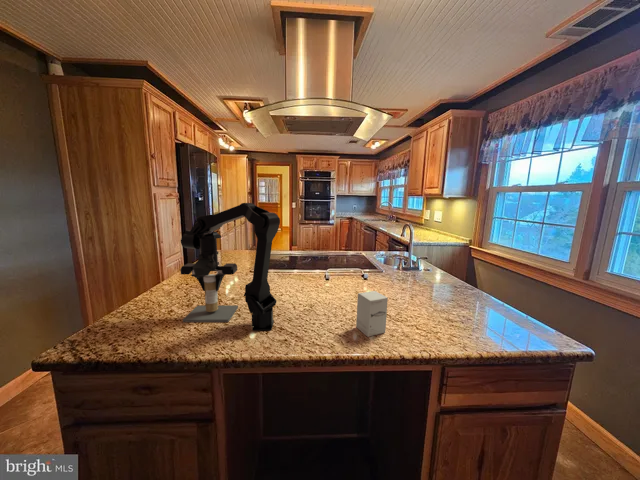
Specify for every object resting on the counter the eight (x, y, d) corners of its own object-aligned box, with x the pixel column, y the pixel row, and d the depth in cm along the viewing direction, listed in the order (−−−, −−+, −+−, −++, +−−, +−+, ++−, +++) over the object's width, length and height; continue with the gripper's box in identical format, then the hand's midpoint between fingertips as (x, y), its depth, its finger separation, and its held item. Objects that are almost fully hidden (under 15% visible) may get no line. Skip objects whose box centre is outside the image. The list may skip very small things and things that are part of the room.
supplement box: (367, 337, 80) (369, 300, 78) (355, 327, 87) (357, 292, 85) (386, 333, 83) (388, 297, 81) (373, 323, 90) (374, 289, 88)
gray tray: (238, 307, 100) (237, 305, 100) (228, 322, 89) (228, 319, 88) (197, 307, 100) (197, 305, 100) (182, 322, 88) (182, 319, 88)
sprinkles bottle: (208, 307, 96) (205, 274, 94) (220, 307, 96) (218, 273, 94) (203, 312, 91) (201, 277, 89) (216, 312, 92) (214, 277, 90)
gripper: (170, 254, 82) (173, 299, 84) (227, 255, 83) (229, 299, 85) (186, 248, 93) (189, 288, 95) (237, 248, 94) (238, 288, 96)
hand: (211, 290), depth 93 cm, fingers closed on sprinkles bottle, 4 cm apart
